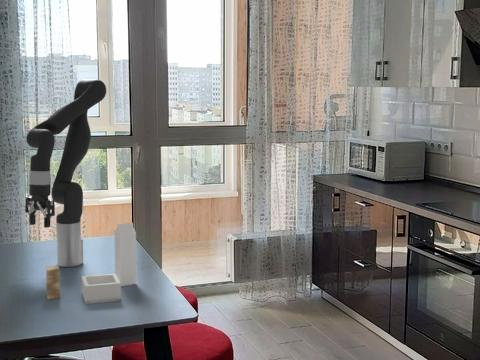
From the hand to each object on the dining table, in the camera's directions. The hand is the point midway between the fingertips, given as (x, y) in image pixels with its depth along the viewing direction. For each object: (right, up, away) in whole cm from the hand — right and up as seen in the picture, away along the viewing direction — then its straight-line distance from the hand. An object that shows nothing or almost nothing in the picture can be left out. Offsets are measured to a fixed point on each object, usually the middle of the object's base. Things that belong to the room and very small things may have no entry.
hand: (39, 226), depth 228 cm
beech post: (+13, -22, -24) cm, 35 cm away
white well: (+28, -22, -24) cm, 43 cm away
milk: (+34, -20, -8) cm, 40 cm away
